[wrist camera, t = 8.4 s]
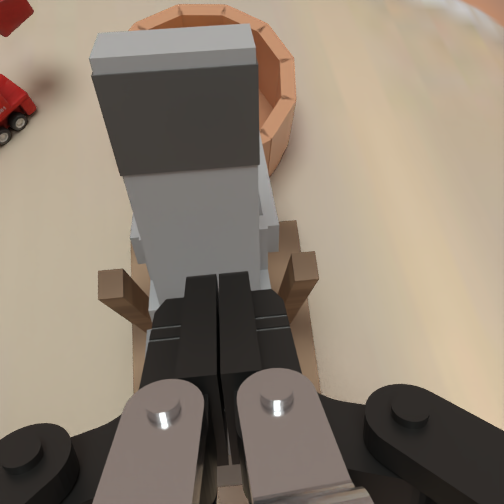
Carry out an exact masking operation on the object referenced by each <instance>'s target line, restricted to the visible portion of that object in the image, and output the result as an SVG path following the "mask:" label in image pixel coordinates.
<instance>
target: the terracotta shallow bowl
mask: <svg viewBox="0 0 504 504" xmlns="http://www.w3.org/2000/svg"><path fill="white" fill-rule="evenodd" d="M247 23H250V27H251V31H252V35H253V39H254V42H255V46H256V57H257V61H258V74H259V131H260V136H261V140H262V145H263V150H264V155H265V160H266V164H267V169H268V174H269V177H270V176H271V175H272V173H273V172H274V171H275V169H276V168H277V166H278V164H279V162H280V160H281V158H282V156H283V153H284V151H285V149H286V148H287V146H288V143H289V137H290V132H291V126H292V121H293V115H294V109H295V104H296V85H295V66H294V57H293V56H292V55H291V53H290V52H289V51H288V49H287V48H286V47H285V45H284V44H283V43H282V41H281V40H280V39H279V37H278V36H277V35H276V34H275V32H274V31H273V30H272V28H271V27H270V26H269V24H268V23H265V22H263V21H261V20H259V19H257V18H254V17H252V16H250V15H248V14H246V13H244V12H241V11H239V10H237V9H235V8H233V7H230V6H228V5H222V4H179V6H178V4H177V5H175V6H173V7H170V8H168V9H166V10H164V11H161V12H159V13H157V14H154V15H152V16H150V17H147V18H145V19H143V20H140V21H138V22H136V23H134V24H133V26H132V27H131V28H130V29H129V30H128V31H138V30H153V29H169V28H185V27H200V26H216V25H232V24H247Z"/></svg>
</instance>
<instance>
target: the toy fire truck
mask: <svg viewBox="0 0 504 504" xmlns="http://www.w3.org/2000/svg"><path fill="white" fill-rule="evenodd" d="M33 12H34V10H33V9H32V7H31V6H30V4H29V3H28V1H27V0H0V34H1V35H2V36H4V37H7V36H9V35H10V34H11V33H12V32H13V31H14V30H15V29H16V28H18V27H19V26H20V25H21V23H23V22H24V21H25V20H26V19H27V18H29V17H30V16H31V15H32V14H33ZM35 110H36V106H35V104H34V103H33V102H32V100H31V99H30V97H29V95H28V94H27V92H25V91H24V90H23V89H21V88H20V87H18V86H17V85H16V84H14V83H13V82H12V81H11V80H9V79H8V78H6V77H5V76H4V75H2V74H0V145H3V144H6V143H7V142H8V141H9V140H10V138H11V133H10V131H9V129H7V128H8V127H11V128H13V129H14V130H21V129H23V128H24V127H25V126H26V124H27V118H26V116H25V115H24V113H25V114H27V115H31V114H32V113H33V112H34V111H35Z"/></svg>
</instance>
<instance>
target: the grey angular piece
mask: <svg viewBox="0 0 504 504" xmlns="http://www.w3.org/2000/svg"><path fill="white" fill-rule="evenodd" d="M89 61H90V64H91V68H92V71H93V72H92V75H91V77H92V80H93V84H94V87H95V91H96V94H97V97H98V101H99V104H100V108H101V111H102V115H103V118H104V121H105V125H106V128H107V132H108V135H109V139H110V142H111V145H112V149H113V152H114V156H115V159H116V163H117V166H118V170H119V173H120V176H123V179H124V183H125V186H126V190H127V193H128V196H129V200H130V203H131V207H132V210H133V218H132V226H131V234H130V240H131V243H132V246H133V249H134V253H135V256H136V259H137V262H138V264H146V266H147V270H148V273H149V276H150V280H151V282H150V296H149V309H148V311H149V314H150V317H151V321H152V322H153V318H154V313H155V311H156V310H157V309H158V308H159V307H160V306H161V304H162V303H163V302H164V301H165V300H166V299H172V298H182V297H184V292H185V283H186V277H189V276H199V275H209V274H216V275H217V281H218V289H219V274H221V273H231V272H242V271H248V273H249V280H250V288H251V291H255V290H265V289H271V285H270V279H269V273H268V252H279V222H278V217H277V212H276V207H275V203H274V198H273V193H272V188H271V183H270V179H269V174H268V169H267V164H266V160H265V155H264V150H263V145H262V140H261V136H260V131H259V74H258V61H257V57H256V46H255V42H254V39H253V35H252V31H251V27H250V23H247V24H232V25H216V26H200V27H185V28H169V29H153V30H138V31H122V32H107V33H98V35H97V38H96V40H95V43H94V46H93V49H92V51H91V54H90V57H89ZM151 330H152V329H149V330H147V336H146V350H145V357H146V352H147V347H148V342H149V337H150V333H151ZM228 453H229V465H226V466H217V486H218V487H226V486H235V485H243V484H242V476H241V467H240V464H237V465H232V459H231V451H230V443H229V436H228Z"/></svg>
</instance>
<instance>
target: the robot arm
mask: <svg viewBox="0 0 504 504" xmlns="http://www.w3.org/2000/svg"><path fill="white" fill-rule="evenodd" d="M228 436H229V443H230V451H231V459H232V465H237V464H240V467H241V476H242V484H243V490H244V493H245V496H246V497H247V499H248V504H504V431H503V430H501V429H499V428H497V427H495V426H493V425H492V424H490V423H488V422H486V421H484V420H482V419H480V418H479V417H477V416H475V415H473V414H471V413H469V412H467V411H466V410H464V409H462V408H460V407H458V406H456V405H454V404H453V403H451V402H449V401H447V400H445V399H443V398H441V397H440V396H438V395H436V394H434V393H432V392H430V391H428V390H426V389H423V388H420V387H417V386H413V385H407V384H393V385H388V386H384V387H382V388H379V389H377V390H376V391H375V392H373V393H372V394H371V395H370V396H369V398H368V400H367V402H366V405H362V404H356V403H349V402H343V401H338V400H334V399H331V398H328V397H326V396H324V395H321V394H320V393H318V392H317V391H316V389H315V387H314V385H313V383H312V382H311V381H310V380H309V379H308V378H307V377H306V376H304V375H303V374H302V371H301V367H300V363H299V359H298V356H297V352H296V348H295V344H294V340H293V336H292V332H291V328H290V324H289V320H288V316H287V312H286V308H285V304H284V300H283V299H282V298H281V297H280V296H279V295H278V294H277V293H276V292H275V291H274V290H272V289H265V290H255V291H251V288H250V280H249V273H248V271H242V272H231V273H221V274H219V289H218V281H217V275H216V274H209V275H199V276H189V277H186V283H185V292H184V297H182V298H172V299H166V300H165V301H164V302H163V303H162V304H161V306H160V307H159V308H158V309H157V310H156V311H155V313H154V318H153V323H152V330H151V333H150V337H149V342H148V347H147V352H146V357H145V362H144V367H143V371H142V376H141V381H140V386H139V390H138V391H137V392H136V393H135V394H133V396H132V397H131V398H130V399H129V400H128V402H127V403H126V405H125V407H124V409H123V412H122V414H121V415H120V416H119V417H117V418H116V419H114V420H113V421H111V422H109V423H107V424H105V425H103V426H101V427H98V428H95V429H93V430H90V431H87V432H85V433H82V434H79V435H76V436H74V437H71V438H70V436H69V434H68V432H67V431H66V430H65V429H64V428H62V427H60V426H58V425H55V424H49V423H41V424H34V425H30V426H26V427H23V428H21V429H18V430H16V431H14V432H12V433H10V434H8V435H7V436H5V437H4V438H2V439H1V440H0V504H220V499H219V493H218V486H217V466H226V465H229V453H228Z"/></svg>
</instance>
